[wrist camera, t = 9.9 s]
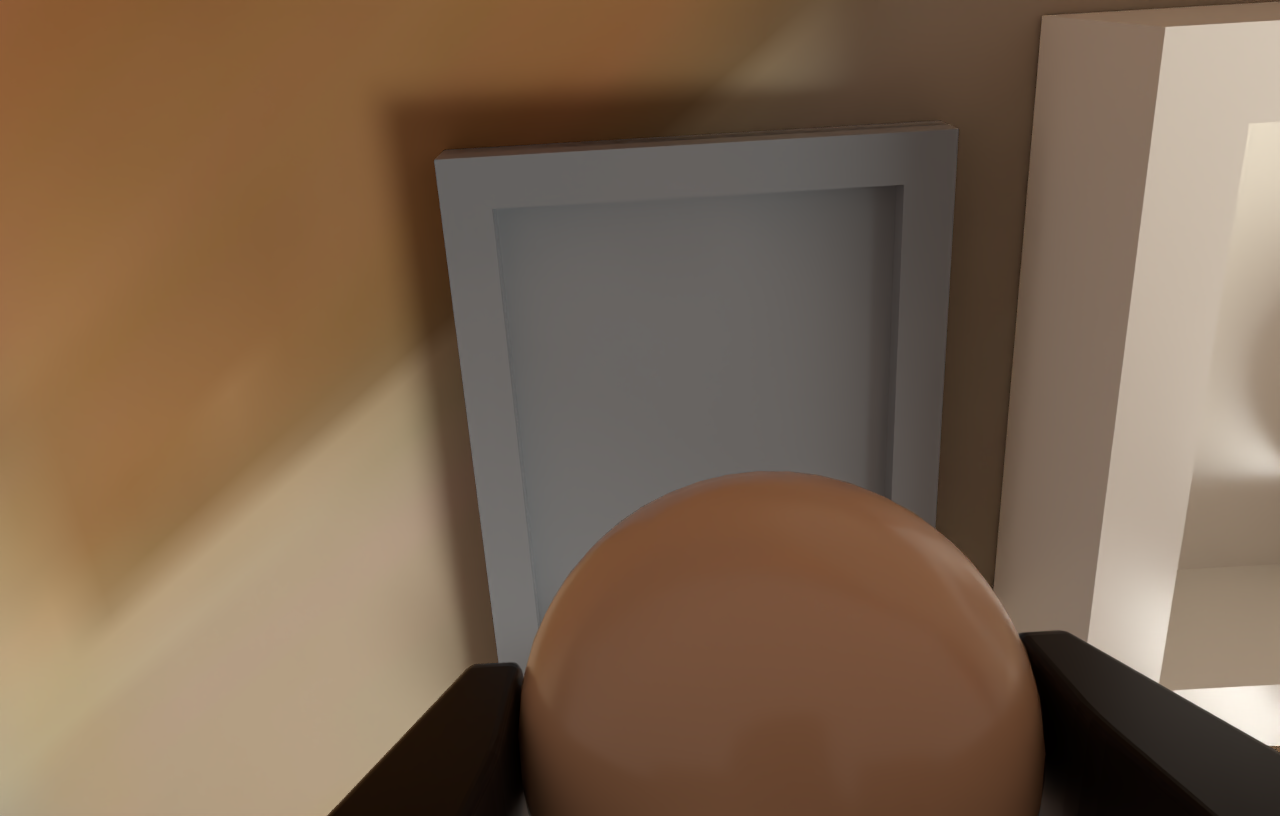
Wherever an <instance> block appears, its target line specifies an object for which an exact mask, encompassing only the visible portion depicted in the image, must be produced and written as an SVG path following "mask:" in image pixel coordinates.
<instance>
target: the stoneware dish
mask: <svg viewBox="0 0 1280 816" xmlns="http://www.w3.org/2000/svg"><path fill="white" fill-rule="evenodd" d="M993 591H994V592H995V593H996V595H997V596H998V598H999V599H1000V600H1001V602H1002V603H1003V605H1004V607H1005V609H1006V611H1007V613H1008V615H1009V617H1010V619H1011V621H1012V622H1013V624H1014V626H1015V628H1016V630H1017V633H1018V634H1019V633H1022V632H1037V631H1053V630H1063V631H1067V632H1069V633H1071V634H1073V635H1075V636H1077V637H1078V638H1080V639H1082V640H1084V641H1085V642H1087V643H1089V644H1091V645H1092V646H1094V647H1096V648H1098V649H1099V650H1101V651H1103V652H1105V653H1106V654H1108V655H1110V656H1112V657H1113V658H1115V659H1117V660H1119V661H1120V662H1122V663H1124V664H1126V665H1127V666H1129V667H1131V668H1133V669H1134V670H1136V671H1138V672H1140V673H1141V674H1143V675H1145V676H1147V677H1148V678H1150V679H1152V680H1154V681H1155V682H1157V683H1159V684H1161V685H1162V686H1164V687H1166V688H1168V689H1169V690H1171V691H1173V692H1175V693H1176V694H1178V695H1180V696H1182V697H1184V698H1185V699H1187V700H1189V701H1191V702H1192V703H1194V704H1196V705H1198V706H1199V707H1201V708H1203V709H1205V710H1206V711H1208V712H1210V713H1212V714H1213V715H1215V716H1217V717H1219V718H1220V719H1222V720H1224V721H1226V722H1227V723H1229V724H1231V725H1233V726H1234V727H1236V728H1238V729H1240V730H1241V731H1243V732H1245V733H1247V734H1248V735H1250V736H1252V737H1254V738H1255V739H1257V740H1259V741H1261V742H1262V743H1264V744H1266V745H1268V746H1280V1H1277V2H1260V3H1244V4H1227V5H1210V6H1193V7H1177V8H1160V9H1143V10H1126V11H1109V12H1093V13H1076V14H1059V15H1042V23H1041V35H1040V47H1039V59H1038V70H1037V82H1036V94H1035V106H1034V118H1033V129H1032V141H1031V153H1030V165H1029V177H1028V188H1027V200H1026V212H1025V224H1024V235H1023V247H1022V259H1021V271H1020V283H1019V294H1018V306H1017V318H1016V330H1015V342H1014V353H1013V365H1012V377H1011V389H1010V400H1009V412H1008V424H1007V436H1006V448H1005V459H1004V471H1003V483H1002V495H1001V507H1000V518H999V530H998V542H997V554H996V566H995V577H994V589H993Z"/></svg>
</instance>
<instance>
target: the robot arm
mask: <svg viewBox="0 0 1280 816" xmlns="http://www.w3.org/2000/svg"><path fill="white" fill-rule="evenodd" d="M1018 635H1019V637H1020V639H1021V641H1022V643H1023V645H1024V647H1025V649H1026V652H1027V655H1028V658H1029V661H1030V664H1031V668H1032V671H1033V674H1034V677H1035V681H1036V685H1037V689H1038V693H1039V697H1040V701H1041V707H1042V715H1043V722H1044V731H1045V751H1046V757H1045V782H1044V788H1043V795H1042V801H1041V807H1040V812H1039V816H1280V752H1278V751H1276V750H1275V749H1273V748H1271V747H1269V746H1268V745H1266V744H1264V743H1262V742H1261V741H1259V740H1257V739H1255V738H1254V737H1252V736H1250V735H1248V734H1247V733H1245V732H1243V731H1241V730H1240V729H1238V728H1236V727H1234V726H1233V725H1231V724H1229V723H1227V722H1226V721H1224V720H1222V719H1220V718H1219V717H1217V716H1215V715H1213V714H1212V713H1210V712H1208V711H1206V710H1205V709H1203V708H1201V707H1199V706H1198V705H1196V704H1194V703H1192V702H1191V701H1189V700H1187V699H1185V698H1184V697H1182V696H1180V695H1178V694H1176V693H1175V692H1173V691H1171V690H1169V689H1168V688H1166V687H1164V686H1162V685H1161V684H1159V683H1157V682H1155V681H1154V680H1152V679H1150V678H1148V677H1147V676H1145V675H1143V674H1141V673H1140V672H1138V671H1136V670H1134V669H1133V668H1131V667H1129V666H1127V665H1126V664H1124V663H1122V662H1120V661H1119V660H1117V659H1115V658H1113V657H1112V656H1110V655H1108V654H1106V653H1105V652H1103V651H1101V650H1099V649H1098V648H1096V647H1094V646H1092V645H1091V644H1089V643H1087V642H1085V641H1084V640H1082V639H1080V638H1078V637H1077V636H1075V635H1073V634H1071V633H1069V632H1067V631H1063V630H1053V631H1037V632H1022V633H1019V634H1018ZM522 681H523V672H522V669H521V667H520V666H519V664H517V663H515V662H505V663H487V664H475V665H472V666H470V667H469V668H467V669H466V670H465V671H464V672H463V673H462V674H461V675H460V676H459V678H458V679H457V680H456V681H455V682H454V683H453V684H452V685H451V686H450V687H449V688H448V689H447V690H446V691H445V692H444V693H443V694H442V695H441V696H440V698H439V699H438V700H437V701H436V702H435V703H434V704H433V705H432V706H431V707H430V708H429V709H428V710H427V711H426V712H425V713H424V714H423V715H422V716H421V718H420V719H419V720H418V721H417V722H416V723H415V724H414V725H413V726H412V727H411V728H410V729H409V730H408V731H407V732H406V733H405V734H404V735H403V737H402V738H401V739H400V740H399V741H398V742H397V743H396V744H395V745H394V746H393V747H392V748H391V749H390V750H389V751H388V752H387V753H386V754H385V755H384V757H383V758H382V759H381V760H380V761H379V762H378V763H377V764H376V765H375V766H374V767H373V768H372V769H371V770H370V771H369V772H368V773H367V774H366V775H365V777H364V778H363V779H362V780H361V781H360V782H359V783H358V784H357V785H356V786H355V787H354V788H353V789H352V790H351V791H350V792H349V793H348V794H347V795H346V797H345V798H344V799H343V800H342V801H341V802H340V803H339V804H338V805H337V806H336V807H335V808H334V809H333V810H332V811H331V812H330V813H329V814H328V815H327V816H529V814H528V810H527V805H526V800H525V795H524V791H523V786H522V780H521V774H520V766H519V751H518V717H519V703H520V694H521V686H522Z"/></svg>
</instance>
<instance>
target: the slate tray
mask: <svg viewBox="0 0 1280 816" xmlns="http://www.w3.org/2000/svg"><path fill="white" fill-rule="evenodd" d="M958 135H959V129H958V128H956V127H954V126H952V125H949V124H947V123H945V122H943V121H923V122H906V123H889V124H872V125H855V126H838V127H821V128H804V129H787V130H770V131H753V132H736V133H719V134H702V135H686V136H669V137H652V138H635V139H618V140H601V141H584V142H567V143H550V144H533V145H516V146H499V147H482V148H465V149H448V150H443V151H442V152H441V153H440V154H439V155H438V156H437V157H436V158H435V159H434V164H435V171H436V179H437V187H438V195H439V203H440V210H441V218H442V226H443V234H444V241H445V249H446V257H447V265H448V273H449V280H450V288H451V296H452V304H453V312H454V319H455V327H456V335H457V343H458V351H459V358H460V366H461V374H462V382H463V390H464V397H465V405H466V413H467V421H468V429H469V436H470V444H471V452H472V460H473V468H474V475H475V483H476V491H477V499H478V506H479V514H480V522H481V530H482V538H483V545H484V553H485V561H486V569H487V577H488V584H489V592H490V600H491V608H492V616H493V623H494V631H495V639H496V647H497V655H498V662H499V663H505V662H515V663H517V664H519V666H520V667H521V669H522V672H523V677H524V673H525V669H526V665H527V661H528V658H529V654H530V651H531V647H532V644H533V640H534V637H535V635H536V633H537V631H538V629H539V627H540V624H541V622H542V620H543V618H544V616H545V613H546V611H547V609H548V607H549V605H550V603H551V601H552V599H553V597H554V596H555V594H556V593H557V591H558V589H559V588H560V586H561V585H562V583H563V582H564V580H565V579H566V577H567V576H568V574H569V573H570V571H571V570H572V569H573V568H574V567H575V566H576V565H577V563H578V562H579V561H580V560H581V559H582V558H583V557H584V555H585V554H586V553H587V552H588V551H589V550H590V549H591V547H592V546H593V545H594V544H595V543H596V542H597V541H598V540H599V539H600V538H601V537H602V536H604V535H605V534H606V533H607V532H608V531H609V530H610V529H611V528H613V527H614V526H615V525H616V524H617V523H618V522H620V521H621V520H623V519H624V518H626V517H627V516H629V515H630V514H632V513H633V512H634V511H636V510H637V509H639V508H640V507H642V506H644V505H646V504H647V503H649V502H651V501H653V500H655V499H657V498H659V497H661V496H663V495H665V494H667V493H669V492H672V491H674V490H677V489H680V488H682V487H685V486H688V485H691V484H693V483H696V482H699V481H702V480H707V479H711V478H715V477H719V476H723V475H728V474H736V473H745V472H753V471H792V472H800V473H809V474H817V475H822V476H826V477H830V478H834V479H838V480H842V481H846V482H849V483H852V484H855V485H857V486H860V487H862V488H865V489H867V490H870V491H873V492H875V493H877V494H880V495H882V496H884V497H886V498H888V499H890V500H892V501H894V502H896V503H897V504H899V505H901V506H903V507H905V508H906V509H908V510H910V511H912V512H914V513H915V514H916V515H918V516H919V517H921V518H922V519H923V520H925V521H926V522H927V523H929V524H930V525H931V526H933V527H934V528H935V527H936V510H937V493H938V475H939V458H940V441H941V424H942V407H943V390H944V373H945V356H946V339H947V322H948V305H949V288H950V271H951V254H952V237H953V220H954V203H955V186H956V169H957V152H958Z"/></svg>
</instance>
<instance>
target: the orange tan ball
mask: <svg viewBox="0 0 1280 816" xmlns="http://www.w3.org/2000/svg"><path fill="white" fill-rule="evenodd" d="M518 751H519V766H520V774H521V780H522V786H523V791H524V795H525V800H526V805H527V810H528V814H529V816H1039V812H1040V807H1041V801H1042V795H1043V788H1044V782H1045V757H1046V751H1045V731H1044V722H1043V715H1042V707H1041V701H1040V697H1039V693H1038V689H1037V685H1036V681H1035V677H1034V674H1033V671H1032V668H1031V664H1030V661H1029V658H1028V655H1027V652H1026V649H1025V647H1024V645H1023V643H1022V641H1021V639H1020V637H1019V635H1018V633H1017V630H1016V628H1015V626H1014V624H1013V622H1012V621H1011V619H1010V617H1009V615H1008V613H1007V611H1006V609H1005V607H1004V605H1003V603H1002V602H1001V600H1000V599H999V598H998V596H997V595H996V593H995V592H994V591H993V589H992V588H991V587H990V585H989V584H988V582H987V581H986V580H985V578H984V577H983V576H982V575H981V573H980V572H979V571H978V569H977V568H976V567H975V565H974V564H973V563H972V562H971V561H970V560H969V559H968V558H967V557H966V556H965V555H964V554H963V553H962V552H961V551H960V550H959V549H958V548H957V547H956V546H955V545H954V544H953V543H952V542H951V541H950V540H949V539H948V538H946V537H945V536H944V535H943V534H941V533H940V532H939V531H938V530H937V529H935V528H934V527H933V526H931V525H930V524H929V523H927V522H926V521H925V520H923V519H922V518H921V517H919V516H918V515H916V514H915V513H914V512H912V511H910V510H908V509H906V508H905V507H903V506H901V505H899V504H897V503H896V502H894V501H892V500H890V499H888V498H886V497H884V496H882V495H880V494H877V493H875V492H873V491H870V490H867V489H865V488H862V487H860V486H857V485H855V484H852V483H849V482H846V481H842V480H838V479H834V478H830V477H826V476H822V475H817V474H809V473H800V472H792V471H753V472H745V473H736V474H728V475H723V476H719V477H715V478H711V479H707V480H702V481H699V482H696V483H693V484H691V485H688V486H685V487H682V488H680V489H677V490H674V491H672V492H669V493H667V494H665V495H663V496H661V497H659V498H657V499H655V500H653V501H651V502H649V503H647V504H646V505H644V506H642V507H640V508H639V509H637V510H636V511H634V512H633V513H632V514H630V515H629V516H627V517H626V518H624V519H623V520H621V521H620V522H618V523H617V524H616V525H615V526H614V527H613V528H611V529H610V530H609V531H608V532H607V533H606V534H605V535H604V536H602V537H601V538H600V539H599V540H598V541H597V542H596V543H595V544H594V545H593V546H592V547H591V549H590V550H589V551H588V552H587V553H586V554H585V555H584V557H583V558H582V559H581V560H580V561H579V562H578V563H577V565H576V566H575V567H574V568H573V569H572V570H571V571H570V573H569V574H568V576H567V577H566V579H565V580H564V582H563V583H562V585H561V586H560V588H559V589H558V591H557V593H556V594H555V596H554V597H553V599H552V601H551V603H550V605H549V607H548V609H547V611H546V613H545V616H544V618H543V620H542V622H541V624H540V627H539V629H538V631H537V633H536V635H535V637H534V640H533V644H532V647H531V651H530V654H529V658H528V661H527V665H526V669H525V673H524V677H523V681H522V686H521V694H520V703H519V717H518Z"/></svg>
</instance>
